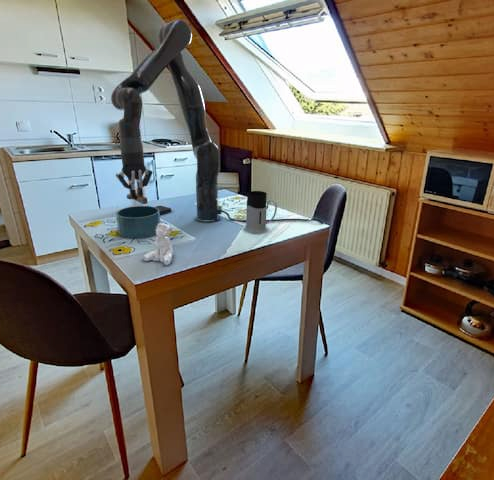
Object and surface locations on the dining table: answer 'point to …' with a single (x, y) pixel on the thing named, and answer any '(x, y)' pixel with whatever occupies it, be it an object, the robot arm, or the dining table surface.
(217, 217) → the robot arm
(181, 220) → the dining table surface
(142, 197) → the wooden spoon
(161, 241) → the seated beast figurine
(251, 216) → the travel mug
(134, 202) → the white cup
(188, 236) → the dining table surface
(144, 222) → the cooking pot
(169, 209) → the smart home device
